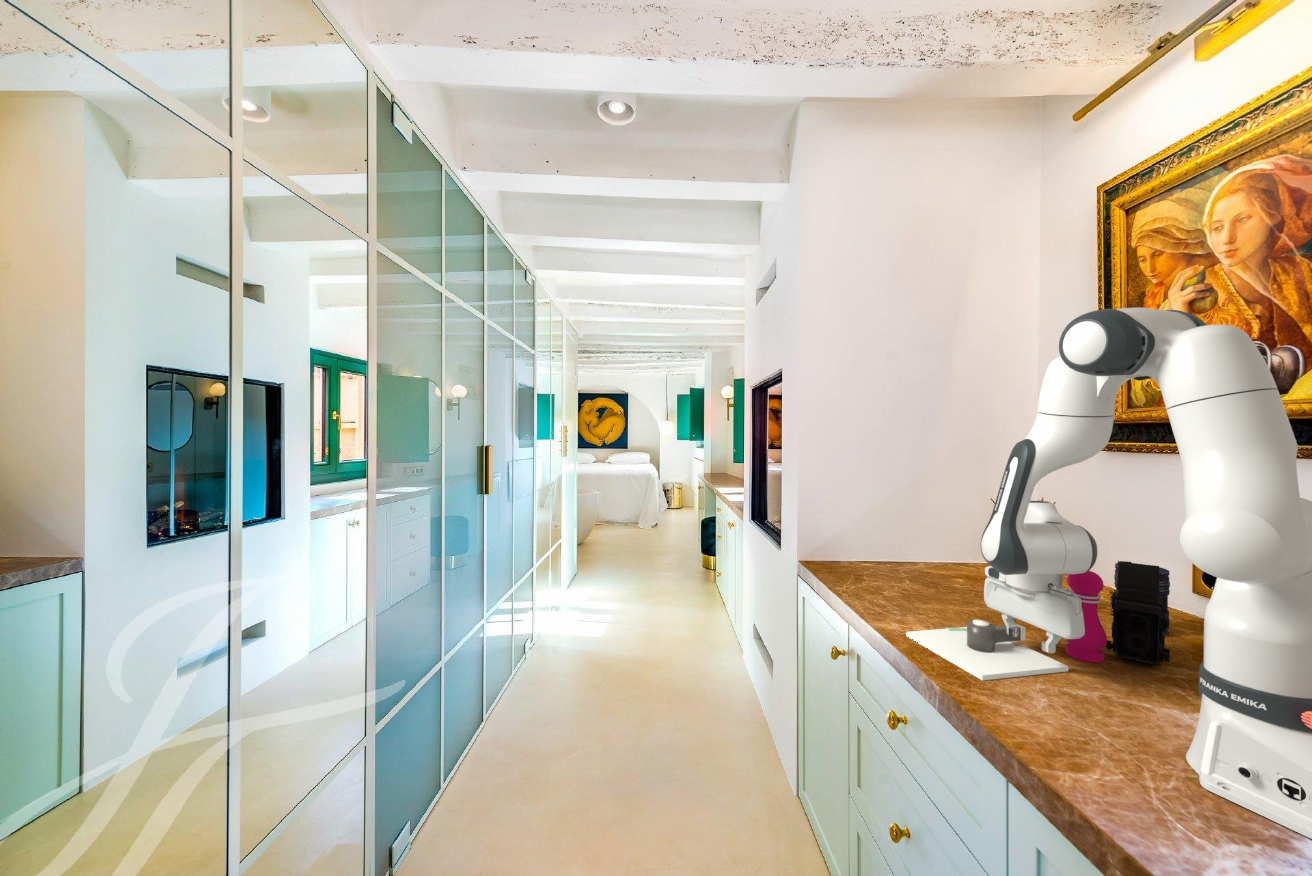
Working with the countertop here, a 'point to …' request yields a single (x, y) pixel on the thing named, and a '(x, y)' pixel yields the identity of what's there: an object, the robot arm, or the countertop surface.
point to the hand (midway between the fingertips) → (1030, 643)
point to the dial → (989, 635)
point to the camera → (1138, 615)
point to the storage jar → (1163, 589)
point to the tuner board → (986, 655)
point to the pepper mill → (1088, 618)
